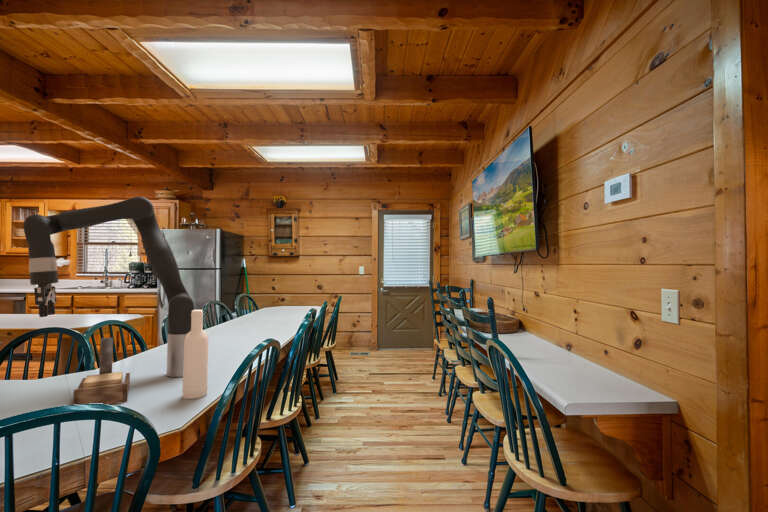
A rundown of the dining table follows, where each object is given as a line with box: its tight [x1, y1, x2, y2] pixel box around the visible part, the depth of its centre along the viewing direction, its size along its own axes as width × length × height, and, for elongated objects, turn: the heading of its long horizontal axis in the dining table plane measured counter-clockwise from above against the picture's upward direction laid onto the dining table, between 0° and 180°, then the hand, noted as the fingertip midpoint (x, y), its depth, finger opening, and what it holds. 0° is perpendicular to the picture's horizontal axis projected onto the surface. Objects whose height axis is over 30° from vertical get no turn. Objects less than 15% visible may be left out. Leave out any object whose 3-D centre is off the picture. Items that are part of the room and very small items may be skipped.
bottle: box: [181, 309, 210, 400], centre depth 133 cm, size 8×8×30 cm
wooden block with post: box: [83, 337, 124, 388], centre depth 130 cm, size 10×13×18 cm
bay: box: [72, 372, 131, 405], centre depth 131 cm, size 14×20×6 cm
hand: (47, 315), depth 135 cm, fingers open, 8 cm apart
